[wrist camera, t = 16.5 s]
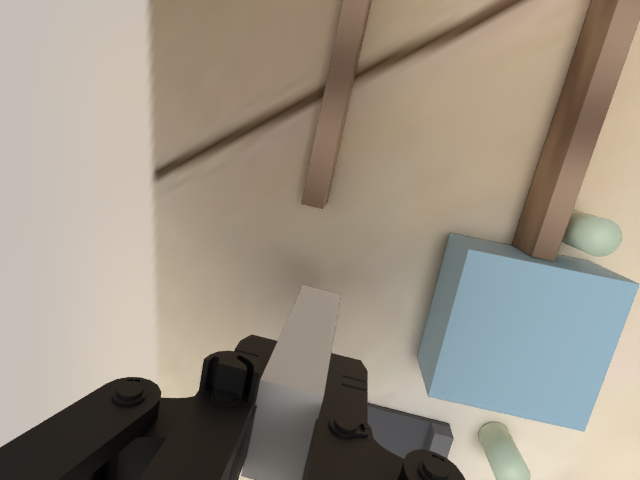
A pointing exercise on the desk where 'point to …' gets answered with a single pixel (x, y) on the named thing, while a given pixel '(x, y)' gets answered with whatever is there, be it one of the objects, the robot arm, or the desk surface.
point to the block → (522, 331)
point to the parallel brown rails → (564, 134)
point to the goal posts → (494, 436)
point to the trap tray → (408, 432)
